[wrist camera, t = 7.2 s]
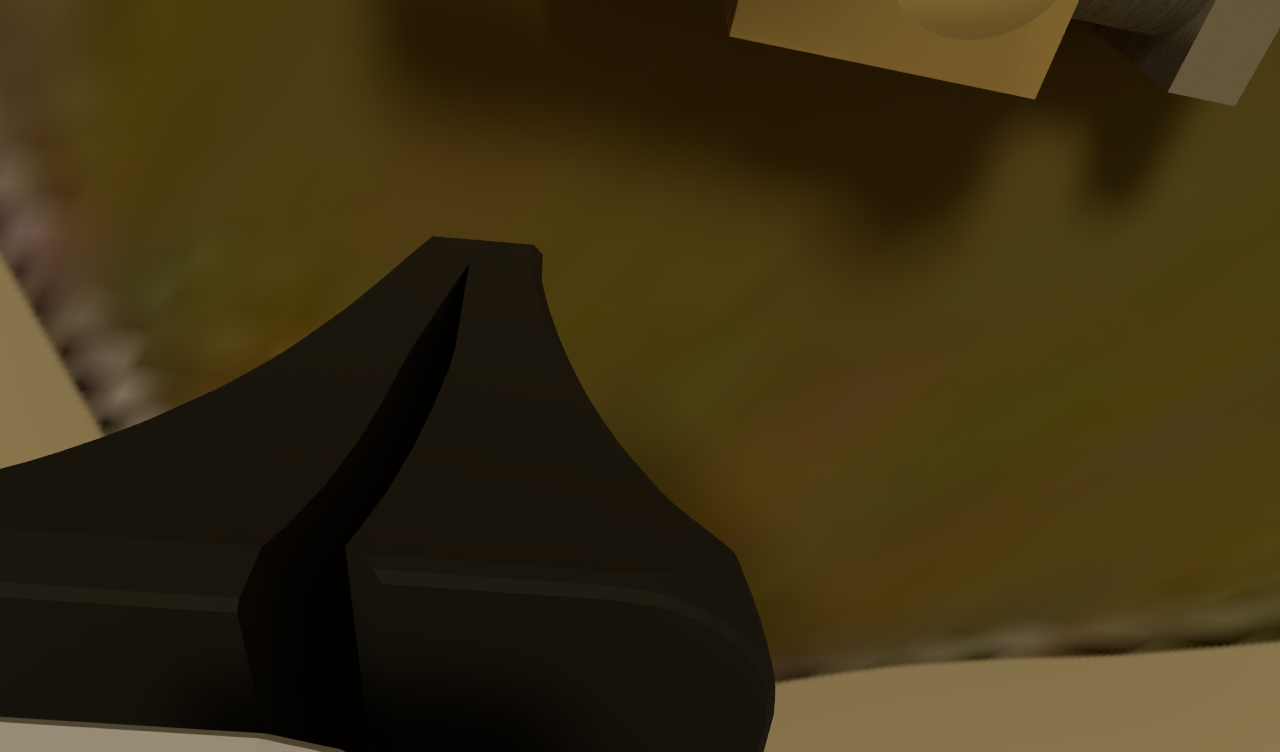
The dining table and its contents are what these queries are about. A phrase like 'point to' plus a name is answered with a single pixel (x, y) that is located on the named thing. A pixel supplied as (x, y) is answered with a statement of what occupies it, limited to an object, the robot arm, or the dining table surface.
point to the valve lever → (973, 16)
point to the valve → (1030, 40)
